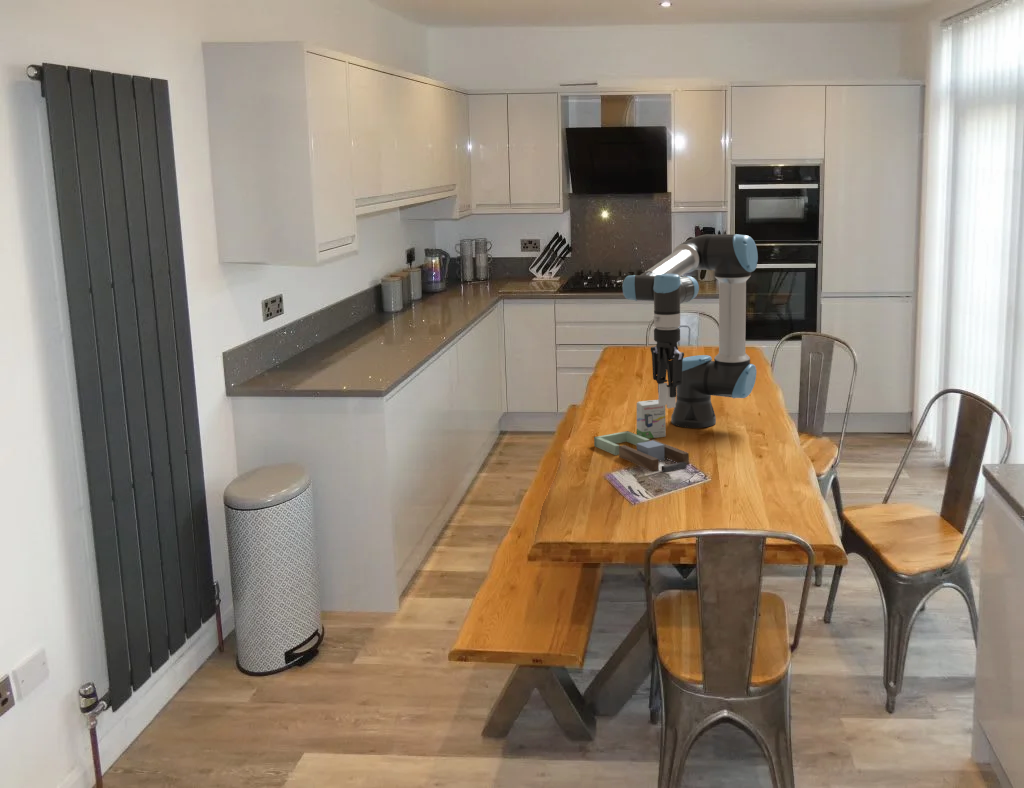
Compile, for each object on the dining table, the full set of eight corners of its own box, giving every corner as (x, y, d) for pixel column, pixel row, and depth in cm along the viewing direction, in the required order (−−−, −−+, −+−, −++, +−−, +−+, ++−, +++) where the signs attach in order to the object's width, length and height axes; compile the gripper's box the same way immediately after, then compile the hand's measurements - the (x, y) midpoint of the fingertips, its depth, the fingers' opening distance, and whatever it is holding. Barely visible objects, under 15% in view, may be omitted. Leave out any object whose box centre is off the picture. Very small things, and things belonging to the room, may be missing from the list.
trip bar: (683, 466, 301) (683, 461, 301) (686, 467, 300) (686, 462, 299) (661, 470, 297) (661, 466, 297) (664, 472, 296) (664, 467, 296)
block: (652, 455, 313) (652, 440, 312) (664, 460, 308) (664, 444, 307) (636, 459, 310) (636, 443, 309) (648, 463, 305) (648, 448, 304)
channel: (653, 450, 318) (653, 439, 318) (688, 464, 303) (688, 453, 302) (619, 456, 313) (619, 446, 312) (653, 471, 297) (653, 460, 296)
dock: (627, 439, 331) (627, 430, 330) (650, 448, 320) (650, 439, 319) (594, 446, 325) (594, 437, 325) (615, 455, 314) (615, 446, 314)
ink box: (659, 433, 337) (659, 399, 335) (666, 437, 333) (666, 402, 330) (636, 436, 335) (635, 401, 332) (642, 439, 330) (641, 404, 328)
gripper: (640, 325, 297) (640, 402, 303) (673, 332, 283) (673, 413, 289) (660, 322, 301) (661, 399, 306) (695, 330, 287) (694, 409, 292)
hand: (667, 406), depth 297 cm, fingers open, 3 cm apart
